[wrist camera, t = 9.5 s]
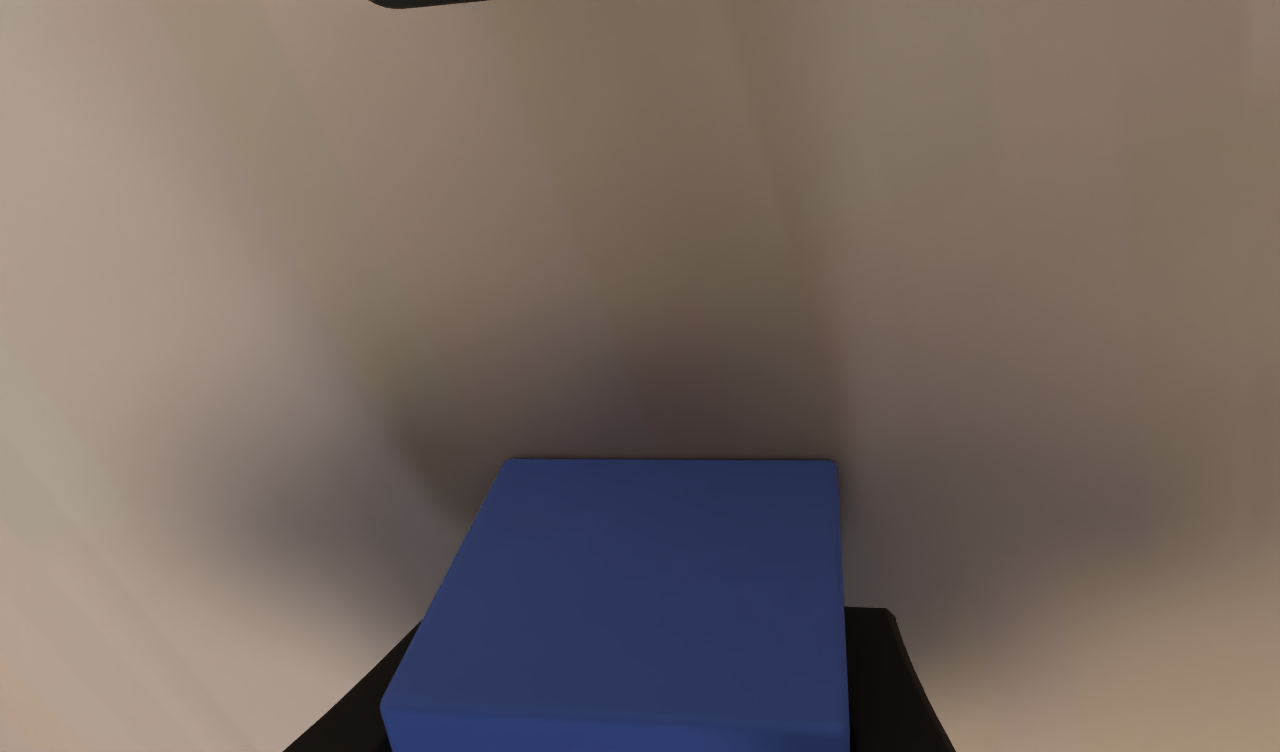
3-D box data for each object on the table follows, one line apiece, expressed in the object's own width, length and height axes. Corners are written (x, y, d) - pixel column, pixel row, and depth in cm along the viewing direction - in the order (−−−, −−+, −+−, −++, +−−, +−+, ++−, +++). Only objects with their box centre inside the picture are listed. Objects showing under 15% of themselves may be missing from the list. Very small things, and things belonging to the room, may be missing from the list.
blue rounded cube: (504, 455, 13) (373, 704, 9) (837, 457, 12) (850, 731, 8) (548, 695, 15) (457, 983, 11) (836, 710, 14) (847, 1026, 10)
